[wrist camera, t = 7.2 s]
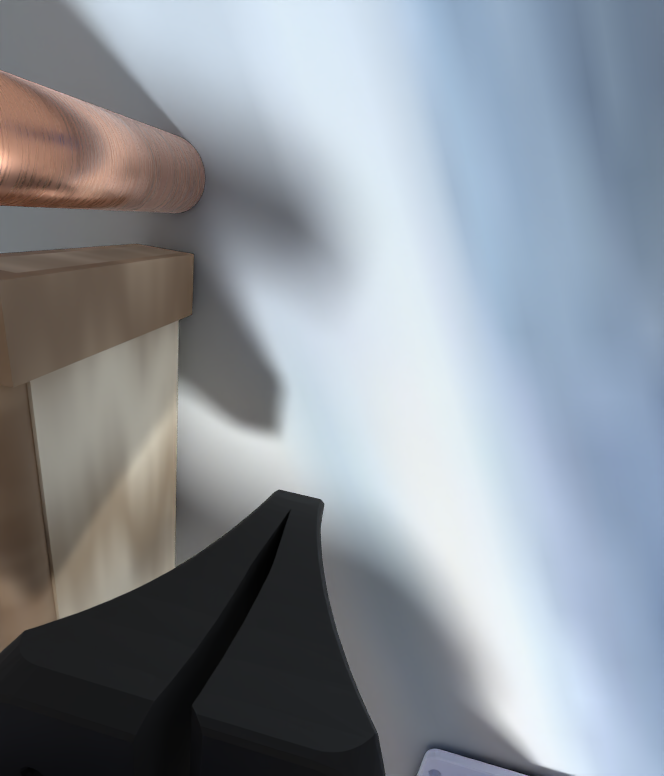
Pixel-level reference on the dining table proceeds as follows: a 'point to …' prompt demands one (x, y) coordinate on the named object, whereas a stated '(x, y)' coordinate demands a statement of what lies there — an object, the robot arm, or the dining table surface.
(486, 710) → the dining table surface
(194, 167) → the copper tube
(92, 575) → the tan flat block
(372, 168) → the dining table surface
